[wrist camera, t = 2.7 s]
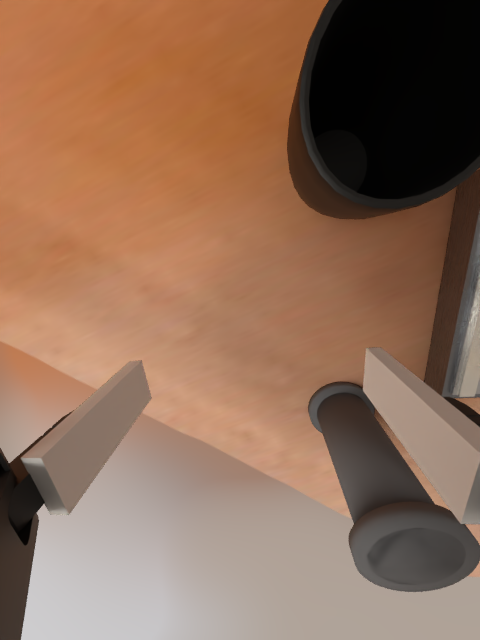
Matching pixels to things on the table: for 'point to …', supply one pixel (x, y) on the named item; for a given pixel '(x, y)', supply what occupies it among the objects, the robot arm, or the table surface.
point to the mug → (386, 106)
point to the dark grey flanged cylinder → (388, 501)
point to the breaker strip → (459, 302)
